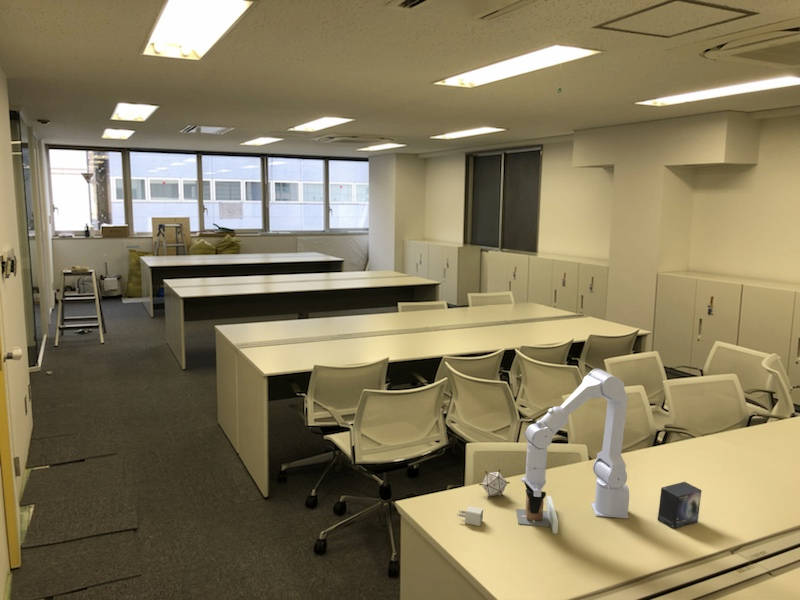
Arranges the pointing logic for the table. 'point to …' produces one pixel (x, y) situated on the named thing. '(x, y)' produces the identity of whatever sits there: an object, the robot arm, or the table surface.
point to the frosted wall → (552, 515)
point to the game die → (494, 483)
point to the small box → (679, 505)
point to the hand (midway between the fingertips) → (533, 508)
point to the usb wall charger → (472, 515)
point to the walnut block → (530, 515)
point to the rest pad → (523, 520)
